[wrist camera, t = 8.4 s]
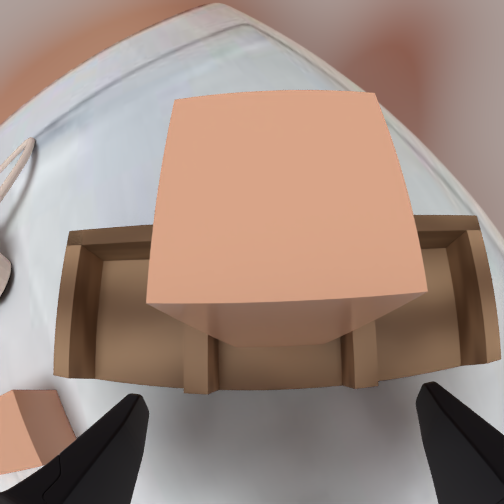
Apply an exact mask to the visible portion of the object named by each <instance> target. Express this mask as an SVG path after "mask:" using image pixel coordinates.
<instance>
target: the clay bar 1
mask: <svg viewBox="0 0 504 504" xmlns="http://www.w3.org/2000/svg"><path fill="white" fill-rule="evenodd" d="M75 440H76V436H75V434H74V432H73V430H72V428H71V425H70V423H69V421H68V418H67V416H66V414H65V411H64V409H63V406H62V404H61V401H60V399H59V396H58V393H57V391H56V390H11V391H9V392H7V393H5V394H3V395H1V396H0V475H1V474H6V473H11V472H16V471H21V470H26V469H30V468H35V467H39V466H43V465H46V464H47V463H48V462H50V461H51V460H52V459H53V458H55V457H56V456H57V455H60V453H61V452H62V451H63V450H64V449H65V448H67V447H68V446H69V445H70V444H71V443H72V442H74V441H75Z"/></svg>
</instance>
